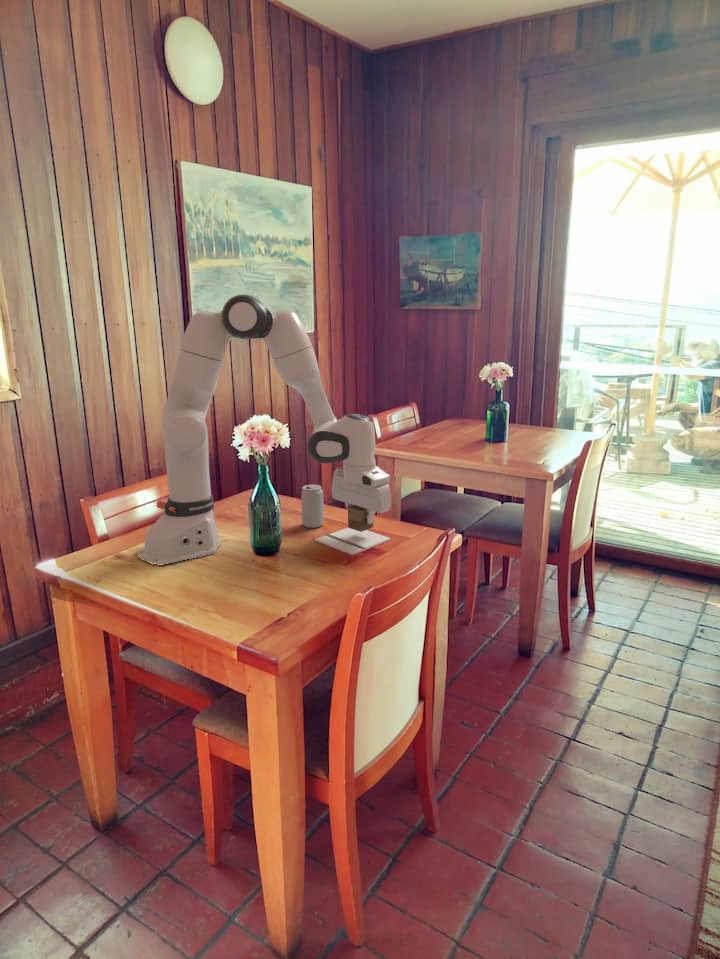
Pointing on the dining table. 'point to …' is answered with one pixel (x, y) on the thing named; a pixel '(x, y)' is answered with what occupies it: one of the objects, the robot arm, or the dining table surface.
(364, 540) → the board
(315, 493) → the beverage can
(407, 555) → the dining table surface
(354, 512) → the walnut block
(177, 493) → the robot arm
